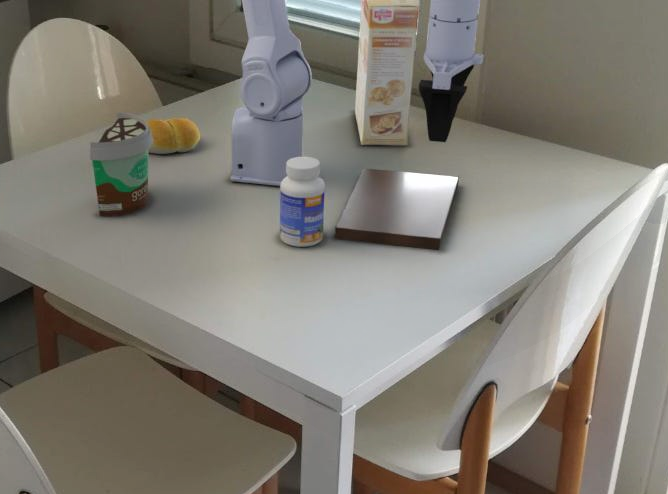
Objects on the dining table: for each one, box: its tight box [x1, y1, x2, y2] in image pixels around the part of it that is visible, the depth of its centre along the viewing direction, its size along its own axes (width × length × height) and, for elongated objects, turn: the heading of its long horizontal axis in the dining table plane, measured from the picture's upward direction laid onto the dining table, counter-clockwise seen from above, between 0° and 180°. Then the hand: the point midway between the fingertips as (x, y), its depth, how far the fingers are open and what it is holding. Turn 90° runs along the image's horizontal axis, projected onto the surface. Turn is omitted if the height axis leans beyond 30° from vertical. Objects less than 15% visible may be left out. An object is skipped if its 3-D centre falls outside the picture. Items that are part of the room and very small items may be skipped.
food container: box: [89, 111, 153, 217], centre depth 143 cm, size 12×6×10 cm, turn 168°
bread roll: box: [146, 117, 201, 155], centre depth 161 cm, size 8×9×4 cm
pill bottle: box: [279, 156, 326, 248], centre depth 134 cm, size 5×5×10 cm
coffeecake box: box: [354, 0, 420, 146], centre depth 162 cm, size 15×7×20 cm, turn 179°
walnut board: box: [334, 167, 460, 251], centre depth 143 cm, size 13×20×2 cm, turn 165°
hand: (441, 130), depth 138 cm, fingers open, 7 cm apart
